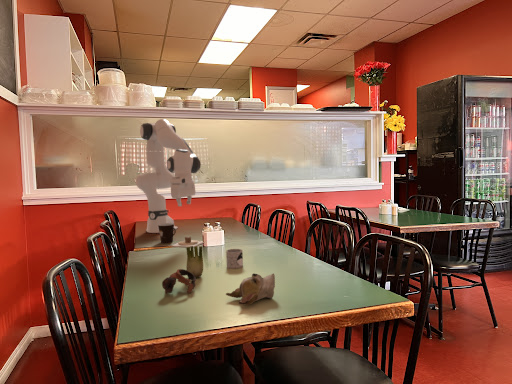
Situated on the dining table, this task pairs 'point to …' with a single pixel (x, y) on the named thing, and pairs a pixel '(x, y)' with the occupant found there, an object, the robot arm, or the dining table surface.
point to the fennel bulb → (195, 261)
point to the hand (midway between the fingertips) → (184, 205)
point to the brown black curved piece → (179, 280)
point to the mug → (234, 258)
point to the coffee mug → (166, 232)
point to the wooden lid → (188, 241)
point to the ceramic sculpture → (254, 289)
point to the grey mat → (187, 245)
